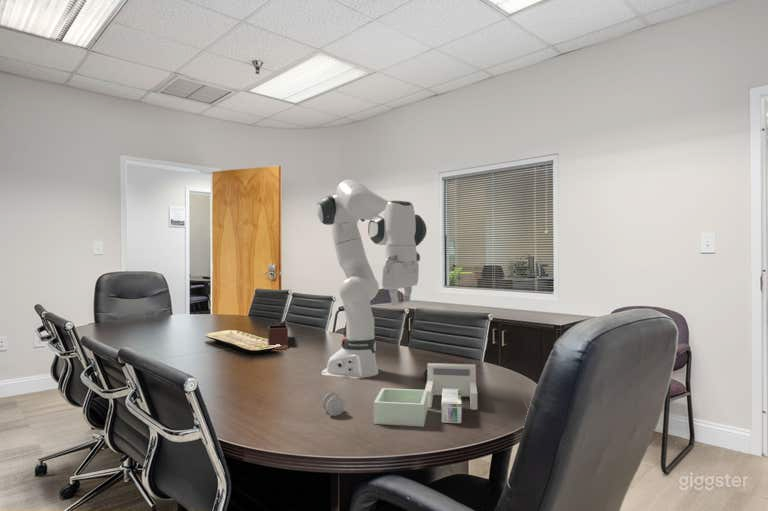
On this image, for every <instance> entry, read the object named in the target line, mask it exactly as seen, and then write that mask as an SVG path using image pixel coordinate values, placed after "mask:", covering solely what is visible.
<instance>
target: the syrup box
mask: <svg viewBox="0 0 768 511" xmlns="http://www.w3.org/2000/svg"><path fill="white" fill-rule="evenodd" d="M462 404H463V403H462V396H461V389H442V395H441V409H440V410H441V411H440V412H441V413H440V418H441V423H446V424H462V411H463V410H462Z"/></svg>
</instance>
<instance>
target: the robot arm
mask: <svg viewBox="0 0 768 511" xmlns="http://www.w3.org/2000/svg"><path fill="white" fill-rule="evenodd" d="M335 193H336V194H333V195H327V196H325V197H323V198H320V199H319V201H318V202H317V205H316V214H317V216H318V219H319V222H320V223H321V224H323V225H328V226H331V234H332V240H333V245H334V249H335V253H336V257H337V261H338V265H339V266H340V268H341V269H342V271H343V272H344V274H345V276H346V279H345V280H343V282H342V283H341V284H340V286H339V291H338V292H339V296H340V299H341V300H342V303H343V310H344V313H345V314H344V315H345V325H346V326H345V328H346V329H345V330H346V332H345V333H346V335H345V337H344V338H342V340H341V341H340V345H341V348H340V349H338V350H337V351H336V352H335V353H334V354H332V355H331V356H330V357H329V359H328V361H327V366H326V368H324V369H323V370H322V371H321V375H322V376H327V377H335V378H345V379H351V380H358V379H364V378H369V377H374V376H376V375H378V374H379V370H378V365H377V360H376V351H377V350H376V349H377V342H376V337H375V317H374V314H373V310H372V305H371V301H372V300H373V299H375V297H376V296H377V295H378V293H379V289H380V286H379V282H378V281H377V279H376V277H375V275H374V273H373V269H372V268H371V265H370V263H369V261H368V259H367V255H366V252H365V248H364V244H363V240H362V236H361V233H360V230H359V227H358V222H359V220H360V221H361V222H362V223H363V222H365V221H369V222H368V225H367V226H368V227H367V229H368V231H367V232H368V236H369V238H370V240H371V241H372V242H373V243H374V244H376V245H380V246H385V263H383V267H382V282H381V285H382V289H383V290H388V294H389V297H390V304H391V305H392V306H397V305H399V304H400V303H399V302H400V299H399V296H398V293H399V289H403V290H404V293H403V296H402V301H403V302H406V303H407V302H411V295H412V291H413V287H414V286H417V285H418V282H419V273H420V268H419V267H420V266H419V262H420V261H421V255H420V253H419V252H418V251H417V246H419V245H420V244H421V243H422V242H423V241H424V239H425V237H426V235H427V225H426V222H425V221H424V219H423V218H422V217H421V216H420V215H419V214H416V212H415V208H414V205H413V203H412V202H410V201H407V200H388V199H385V198H383V197H381V196H380V195H378V194H376V193H375V192H373V191H372V190H371V189H369V188H368V187H366V186H365V185H364V184H362V183H361V182H359V181H357V180H354V179H352V178H351V179H349V178H348V179H344V180H342V181H341V182H339V184H338V185H337V187H336V191H335Z"/></svg>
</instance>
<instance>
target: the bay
mask: <svg viewBox="0 0 768 511" xmlns="http://www.w3.org/2000/svg"><path fill="white" fill-rule="evenodd" d="M426 366H427V368H426V370H427V381H426V384H425V388H424V390H427V409H429V408H430V409H431V408H432V405H433V400H434V396H442V389H461V397H469V404H470V406H469V407H470V410H473V411H476V410H478V388H477V382H476V381H477V374H476V373H477V371H476V370H477V368H476V364H475V363H474V364H471V363H469V364H468V363H444V362H443V363H440V362H439V363H438V362H437V363H436V362H434V363H433V362H427V365H426Z"/></svg>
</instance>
